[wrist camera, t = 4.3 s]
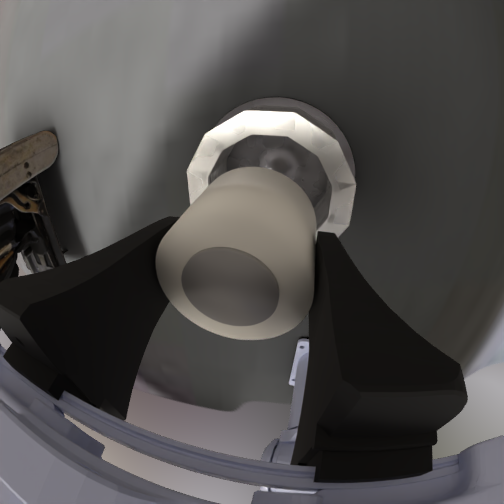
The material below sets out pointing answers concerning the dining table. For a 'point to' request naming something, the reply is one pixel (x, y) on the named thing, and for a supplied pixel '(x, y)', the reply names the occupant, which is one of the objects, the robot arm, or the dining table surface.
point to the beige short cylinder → (242, 256)
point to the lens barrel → (283, 154)
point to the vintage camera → (27, 207)
